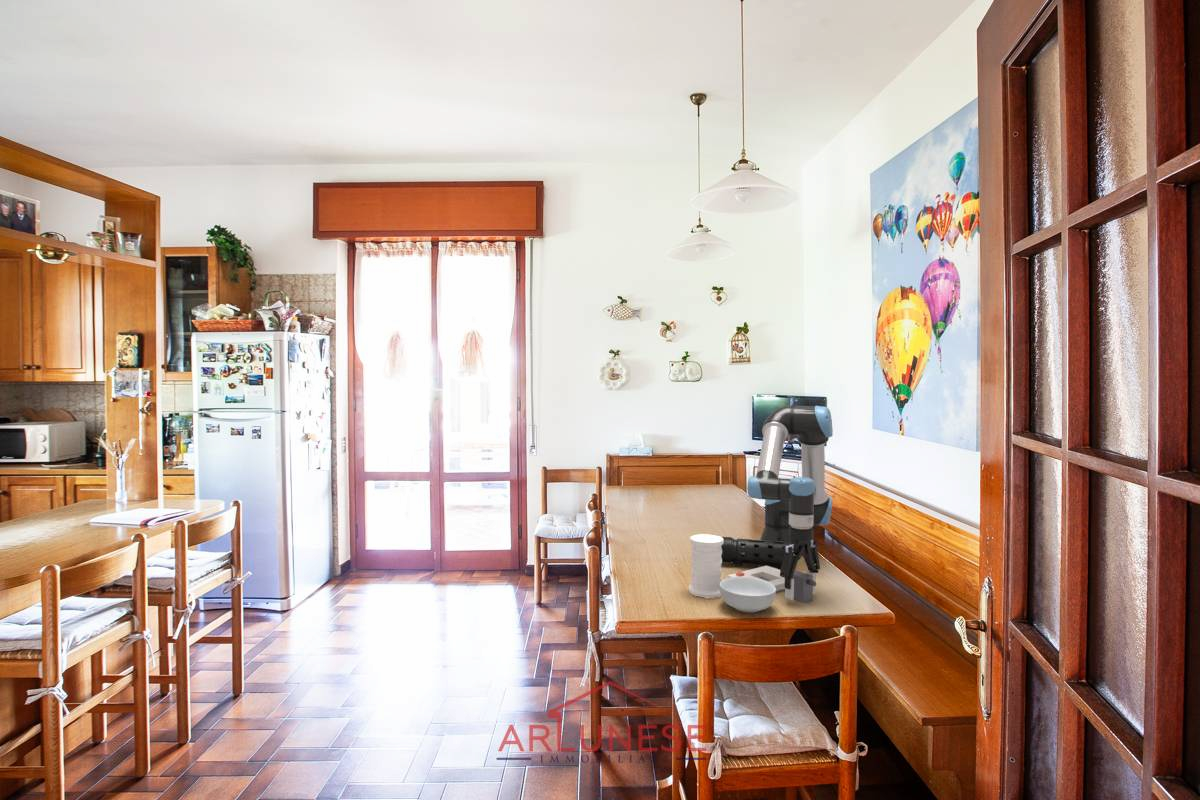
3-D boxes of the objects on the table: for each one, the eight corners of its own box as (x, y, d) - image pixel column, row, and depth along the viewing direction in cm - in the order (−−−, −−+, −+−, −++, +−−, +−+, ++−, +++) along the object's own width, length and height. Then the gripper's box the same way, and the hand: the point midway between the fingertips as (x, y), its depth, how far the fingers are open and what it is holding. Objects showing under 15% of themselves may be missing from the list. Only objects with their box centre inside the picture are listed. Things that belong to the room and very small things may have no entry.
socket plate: (766, 572, 220) (766, 563, 220) (803, 584, 207) (803, 575, 207) (727, 582, 209) (727, 572, 209) (763, 596, 196) (763, 586, 196)
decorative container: (681, 589, 202) (682, 536, 201) (708, 584, 207) (709, 532, 207) (703, 600, 192) (704, 544, 191) (731, 594, 197) (732, 540, 197)
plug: (787, 597, 195) (788, 573, 195) (796, 594, 198) (797, 570, 197) (809, 605, 188) (810, 580, 188) (818, 602, 191) (819, 577, 190)
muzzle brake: (793, 573, 220) (793, 545, 220) (715, 567, 227) (715, 539, 227) (791, 565, 229) (791, 538, 229) (716, 559, 236) (716, 533, 236)
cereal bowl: (736, 621, 176) (736, 597, 175) (710, 601, 192) (710, 579, 191) (786, 615, 180) (787, 591, 180) (757, 596, 196) (757, 574, 196)
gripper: (787, 533, 184) (786, 606, 184) (832, 524, 196) (831, 592, 197) (768, 528, 190) (767, 598, 191) (813, 519, 202) (812, 585, 203)
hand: (799, 595), depth 194 cm, fingers open, 10 cm apart
